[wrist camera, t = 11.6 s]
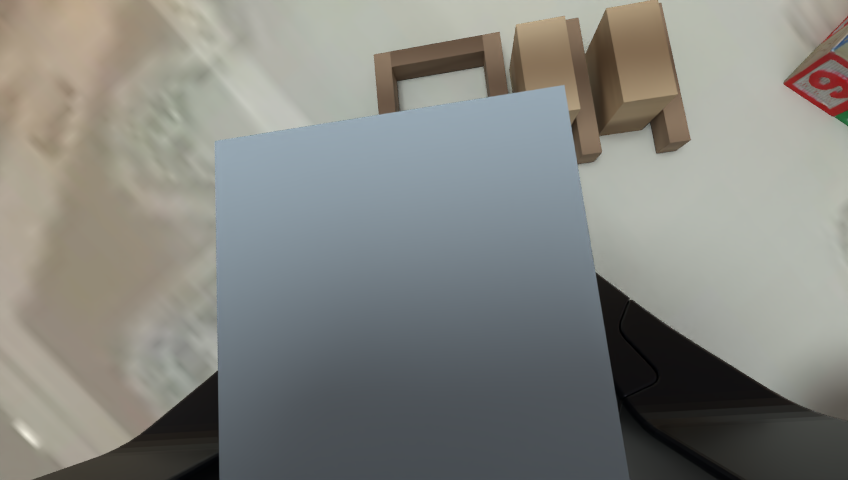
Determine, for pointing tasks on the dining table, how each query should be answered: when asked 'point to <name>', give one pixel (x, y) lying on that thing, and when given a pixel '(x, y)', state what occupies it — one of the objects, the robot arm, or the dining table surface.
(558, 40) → the oak offcut
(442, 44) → the rack
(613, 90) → the oak offcut
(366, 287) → the batten
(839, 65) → the stack of blocks
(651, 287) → the dining table surface
